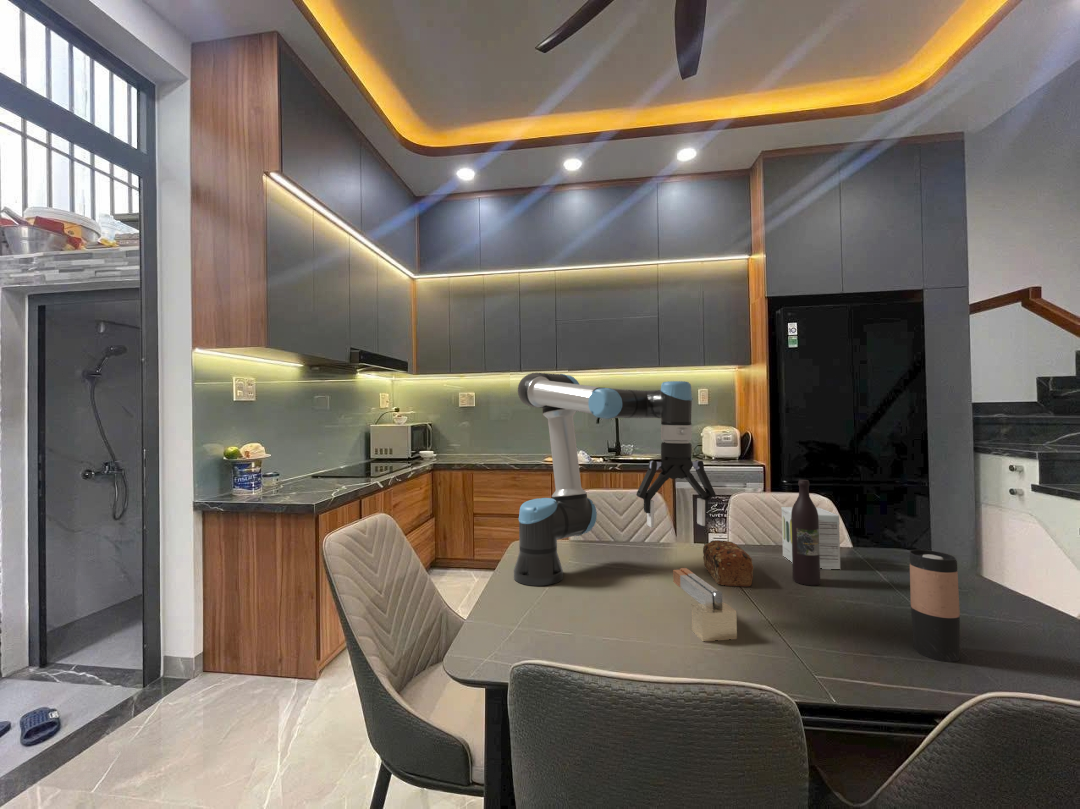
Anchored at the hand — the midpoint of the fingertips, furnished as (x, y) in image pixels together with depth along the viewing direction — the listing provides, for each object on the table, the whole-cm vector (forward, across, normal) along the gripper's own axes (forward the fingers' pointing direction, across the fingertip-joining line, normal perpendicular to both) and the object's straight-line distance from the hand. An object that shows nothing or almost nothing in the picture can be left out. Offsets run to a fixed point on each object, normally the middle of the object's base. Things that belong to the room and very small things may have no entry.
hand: (675, 525), depth 116 cm
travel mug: (+20, +43, -28) cm, 56 cm away
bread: (+22, +26, +21) cm, 40 cm away
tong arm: (+15, +3, -6) cm, 16 cm away
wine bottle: (+21, +47, +13) cm, 53 cm away
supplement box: (+22, +61, +28) cm, 71 cm away
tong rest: (+21, +3, -7) cm, 22 cm away
